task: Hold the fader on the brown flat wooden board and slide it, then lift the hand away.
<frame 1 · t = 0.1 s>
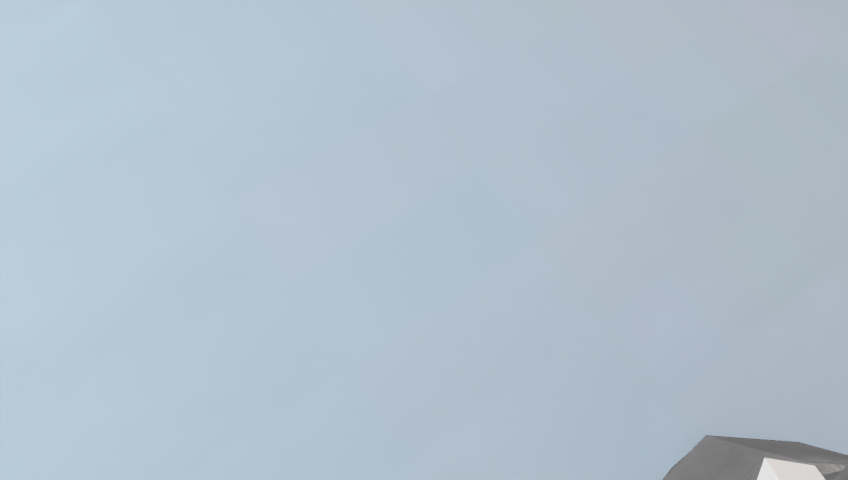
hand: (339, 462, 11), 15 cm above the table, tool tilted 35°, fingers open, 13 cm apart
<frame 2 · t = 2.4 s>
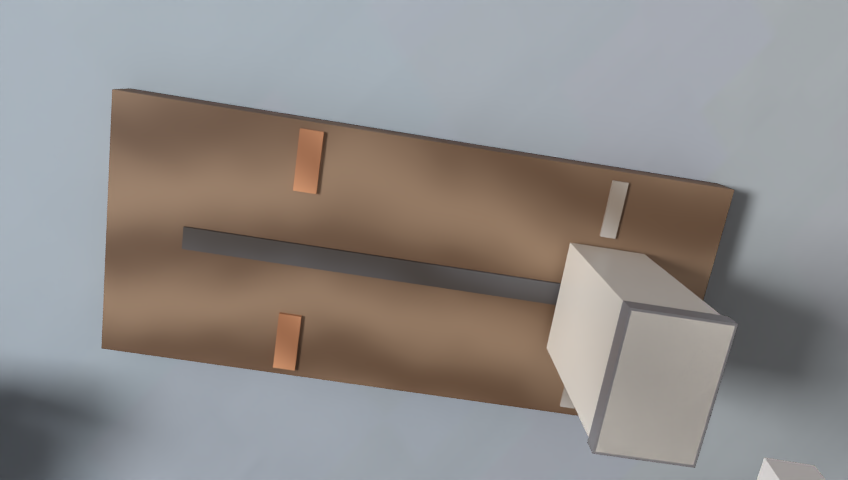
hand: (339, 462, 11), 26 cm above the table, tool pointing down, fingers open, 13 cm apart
brown flat wooden board: (410, 260, 37), on the table
fader: (623, 338, 30), point 7 cm above the table, slide at 0.0 cm
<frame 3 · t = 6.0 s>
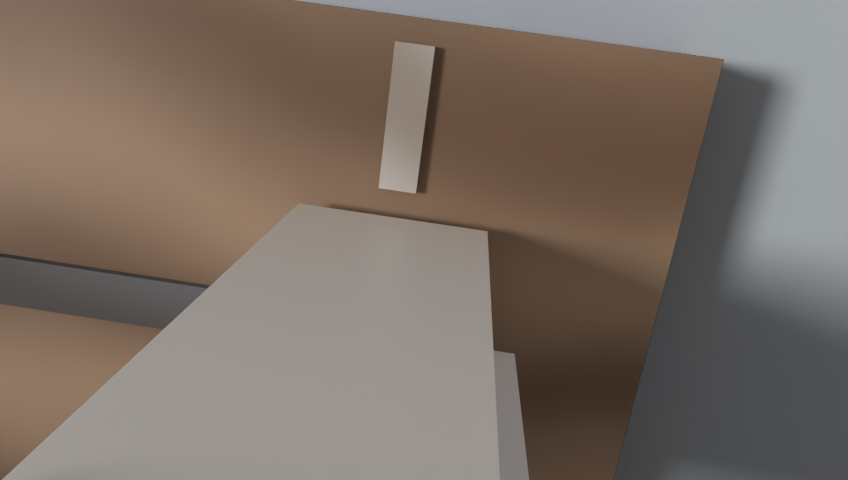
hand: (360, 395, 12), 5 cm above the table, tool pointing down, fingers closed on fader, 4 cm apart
brown flat wooden board: (19, 245, 17), on the table
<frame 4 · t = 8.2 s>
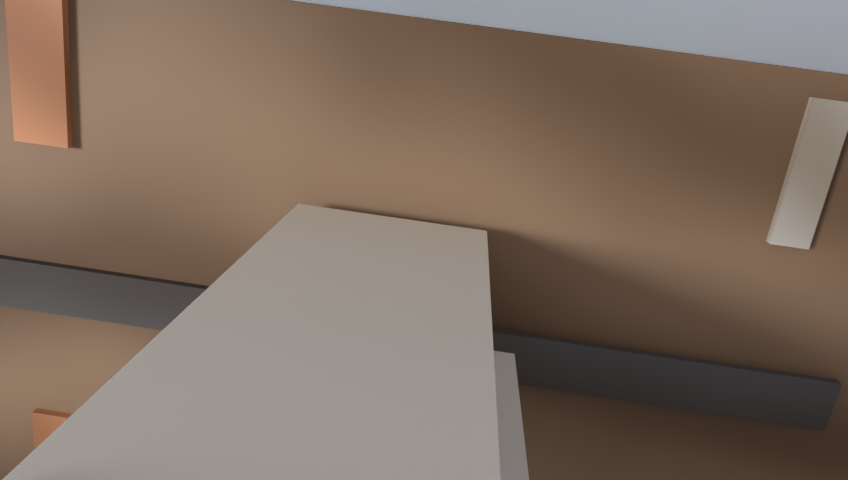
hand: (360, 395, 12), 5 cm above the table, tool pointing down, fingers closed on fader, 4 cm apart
brown flat wooden board: (324, 292, 17), on the table
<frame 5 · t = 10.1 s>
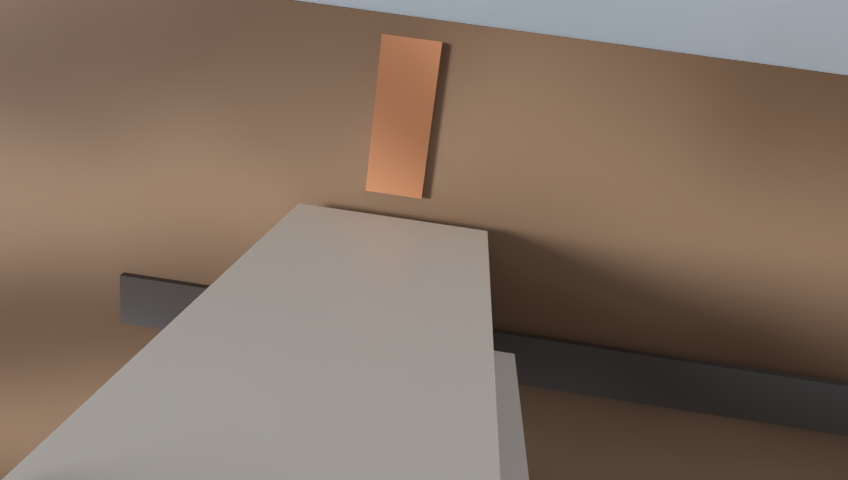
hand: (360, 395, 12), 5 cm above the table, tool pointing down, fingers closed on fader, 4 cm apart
brown flat wooden board: (619, 336, 17), on the table
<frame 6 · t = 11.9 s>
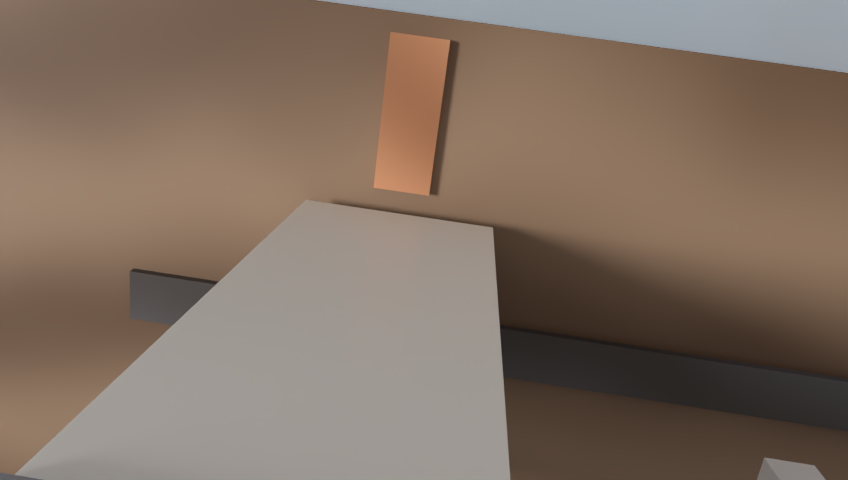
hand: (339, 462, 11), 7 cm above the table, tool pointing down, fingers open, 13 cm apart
brown flat wooden board: (624, 333, 17), on the table
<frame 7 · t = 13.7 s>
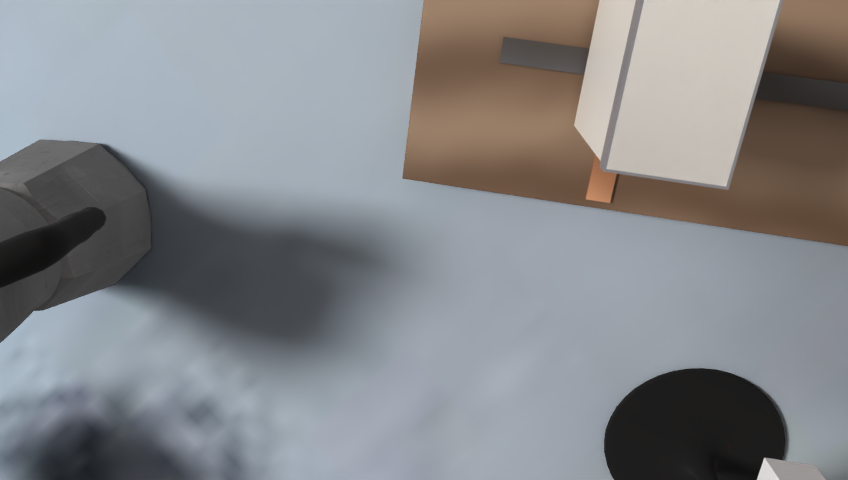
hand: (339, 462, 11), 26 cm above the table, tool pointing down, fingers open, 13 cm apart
brown flat wooden board: (741, 81, 32), on the table
fader: (654, 75, 26), point 8 cm above the table, slide at 16.0 cm
coffeepot: (99, 206, 39), on the table
wine glass: (690, 441, 39), on the table
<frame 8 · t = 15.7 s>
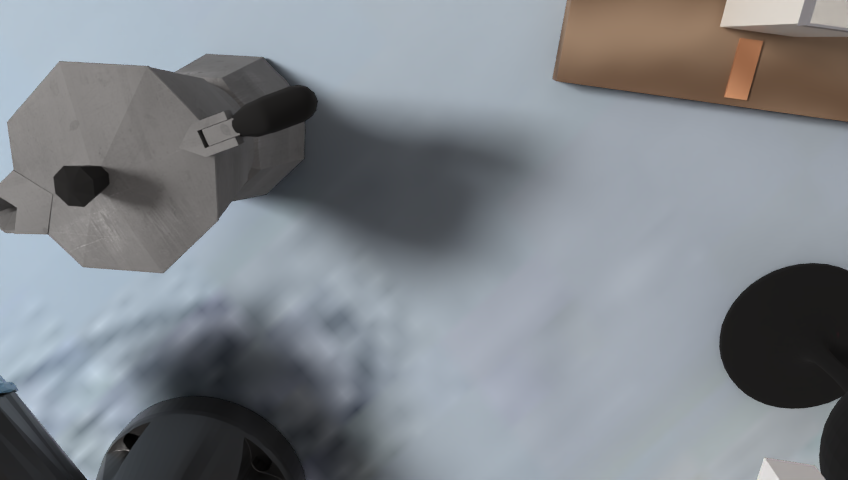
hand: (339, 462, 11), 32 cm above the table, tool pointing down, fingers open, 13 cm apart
coffeepot: (255, 119, 41), on the table
wine glass: (799, 335, 43), on the table
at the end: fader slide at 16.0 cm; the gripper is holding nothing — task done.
